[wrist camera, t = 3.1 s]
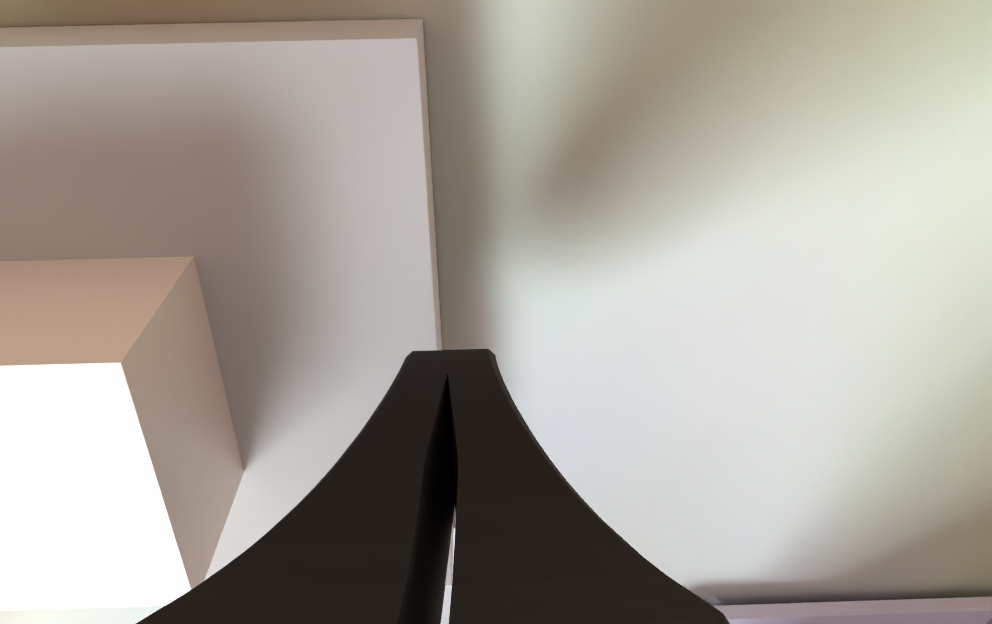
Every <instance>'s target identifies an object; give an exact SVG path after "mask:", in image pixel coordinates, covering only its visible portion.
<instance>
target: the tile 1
mask: <svg viewBox="0 0 992 624" xmlns="http://www.w3.org/2000/svg"><path fill="white" fill-rule="evenodd" d="M243 474H244V470H243V465H242V461H241V457H240V452H239V448H238V444H237V440H236V435H235V431H234V427H233V423H232V418H231V414H230V410H229V405H228V401H227V397H226V393H225V388H224V384H223V380H222V375H221V371H220V367H219V363H218V358H217V354H216V350H215V346H214V341H213V337H212V333H211V328H210V324H209V320H208V316H207V311H206V307H205V303H204V299H203V294H202V290H201V286H200V281H199V277H198V273H197V269H196V264H195V260H194V256H192V257H153V258H114V259H75V260H36V261H0V611H9V610H40V609H70V608H101V607H132V606H162V605H167V604H169V603H171V602H172V601H174V600H176V599H177V598H179V597H180V596H182V595H184V594H185V593H187V592H188V591H190V590H191V589H193V588H194V587H196V586H197V585H199V584H200V583H202V582H203V581H204V580H205V577H206V575H207V572H208V569H209V566H210V564H211V561H212V558H213V556H214V553H215V550H216V547H217V545H218V542H219V539H220V536H221V534H222V531H223V528H224V526H225V523H226V520H227V517H228V515H229V512H230V509H231V506H232V504H233V501H234V498H235V496H236V493H237V490H238V487H239V485H240V482H241V479H242V477H243Z"/></svg>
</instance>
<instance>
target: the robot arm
mask: <svg viewBox="0 0 992 624" xmlns="http://www.w3.org/2000/svg"><path fill="white" fill-rule="evenodd" d="M454 507H455V510H456V531H455V549H454V564H453V580H452V593H451V605H450V618H449V624H992V596H991V597H961V598H930V599H900V600H870V601H840V602H809V603H779V604H749V605H719V606H712V605H710V604H709V603H707V602H706V601H704V600H703V599H701V598H700V597H698V596H697V595H695V594H694V593H692V592H691V591H689V590H688V589H686V588H685V587H683V586H682V585H680V584H679V583H677V582H676V581H674V580H673V579H671V578H670V577H668V576H667V575H665V574H664V573H663V572H661V571H660V570H659V569H658V568H656V567H655V566H654V565H653V564H651V563H650V562H649V561H647V560H646V559H645V558H644V557H642V556H641V555H640V554H639V553H638V552H637V551H636V550H635V549H634V548H632V547H631V546H630V545H629V544H628V543H627V542H626V541H625V540H624V539H623V538H622V537H620V536H619V535H618V534H617V533H616V532H615V531H614V530H613V529H612V528H611V527H609V526H608V525H607V524H606V523H605V522H604V521H603V520H602V519H601V518H600V517H599V516H598V515H597V514H596V513H595V512H594V511H593V510H592V509H591V508H590V507H589V505H588V504H587V503H586V502H585V501H584V500H583V499H582V498H581V497H580V496H579V495H578V493H577V492H576V491H575V490H574V489H573V488H572V486H571V485H570V484H569V483H568V482H567V481H566V479H565V478H564V477H563V476H562V474H561V473H560V472H559V471H558V469H557V468H556V467H555V465H554V464H553V463H552V461H551V460H550V459H549V457H548V456H547V454H546V453H545V452H544V450H543V449H542V447H541V446H540V444H539V443H538V442H537V440H536V438H535V437H534V435H533V434H532V432H531V431H530V429H529V428H528V426H527V424H526V422H525V421H524V419H523V417H522V416H521V414H520V412H519V411H518V409H517V407H516V405H515V403H514V402H513V400H512V398H511V396H510V394H509V392H508V390H507V387H506V385H505V383H504V381H503V379H502V376H501V374H500V371H499V368H498V365H497V362H496V357H495V355H494V354H493V353H492V352H491V351H490V350H489V349H469V350H431V351H412V352H411V353H410V354H409V355H408V356H406V358H405V360H404V362H403V364H402V366H401V368H400V370H399V372H398V374H397V376H396V378H395V379H394V381H393V383H392V385H391V386H390V388H389V389H388V391H387V393H386V394H385V396H384V398H383V399H382V401H381V402H380V404H379V405H378V407H377V408H376V410H375V411H374V413H373V414H372V416H371V417H370V419H369V420H368V422H367V423H366V424H365V426H364V427H363V429H362V430H361V431H360V433H359V434H358V435H357V437H356V438H355V439H354V441H353V442H352V443H351V444H350V446H349V447H348V448H347V449H346V451H345V452H344V453H343V455H342V456H341V457H340V458H339V460H338V461H337V462H336V463H335V465H334V466H333V467H332V468H331V469H330V470H329V471H328V473H327V474H326V475H325V476H324V477H323V478H322V479H321V480H320V482H319V483H318V484H317V485H316V486H315V487H314V488H313V489H312V490H311V491H310V492H309V493H308V494H307V495H306V496H305V497H304V498H303V499H302V500H301V501H300V502H299V503H298V504H297V505H296V506H295V507H294V508H293V509H292V510H291V511H290V512H289V513H288V514H287V515H286V516H285V517H284V518H282V519H281V520H280V521H279V522H278V523H277V524H276V525H275V526H274V527H273V528H272V529H271V530H269V531H268V532H267V533H266V534H265V535H264V536H263V537H261V538H260V539H259V540H258V541H257V542H255V543H254V544H253V545H252V546H251V547H249V548H248V549H247V550H246V551H244V552H243V553H242V554H240V555H239V556H238V557H236V558H235V559H234V560H232V561H231V562H230V563H228V564H227V565H226V566H224V567H223V568H222V569H220V570H219V571H217V572H216V573H215V574H213V575H212V576H210V577H209V578H208V579H206V580H205V581H203V582H202V583H200V584H199V585H197V586H196V587H194V588H193V589H191V590H190V591H188V592H187V593H185V594H184V595H182V596H180V597H179V598H177V599H176V600H174V601H172V602H171V603H169V604H167V605H166V606H164V607H163V608H161V609H159V610H158V611H156V612H154V613H153V614H151V615H150V616H148V617H146V618H145V619H143V620H141V621H140V622H138V623H136V624H440V623H441V615H442V607H443V599H444V590H445V582H446V574H447V566H448V558H449V549H450V541H451V533H452V524H453V516H454Z"/></svg>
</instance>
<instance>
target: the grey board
mask: <svg viewBox="0 0 992 624" xmlns="http://www.w3.org/2000/svg"><path fill="white" fill-rule="evenodd" d="M192 256H194V260H195V264H196V269H197V273H198V277H199V281H200V286H201V290H202V294H203V299H204V303H205V307H206V311H207V316H208V320H209V324H210V328H211V333H212V337H213V341H214V346H215V350H216V354H217V358H218V363H219V367H220V371H221V375H222V380H223V384H224V388H225V393H226V397H227V401H228V405H229V410H230V414H231V418H232V423H233V427H234V431H235V435H236V440H237V444H238V448H239V452H240V457H241V461H242V465H243V470H244V474H243V477H242V479H241V482H240V485H239V487H238V490H237V493H236V496H235V498H234V501H233V504H232V506H231V509H230V512H229V515H228V517H227V520H226V523H225V526H224V528H223V531H222V534H221V536H220V539H219V542H218V545H217V547H216V550H215V553H214V556H213V558H212V561H211V564H210V566H209V569H208V572H207V575H206V577H205V580H206V579H208V578H209V577H210V576H212V575H213V574H215V573H216V572H217V571H219V570H220V569H222V568H223V567H224V566H226V565H227V564H228V563H230V562H231V561H232V560H234V559H235V558H236V557H238V556H239V555H240V554H242V553H243V552H244V551H246V550H247V549H248V548H249V547H251V546H252V545H253V544H254V543H255V542H257V541H258V540H259V539H260V538H261V537H263V536H264V535H265V534H266V533H267V532H268V531H269V530H271V529H272V528H273V527H274V526H275V525H276V524H277V523H278V522H279V521H280V520H281V519H282V518H284V517H285V516H286V515H287V514H288V513H289V512H290V511H291V510H292V509H293V508H294V507H295V506H296V505H297V504H298V503H299V502H300V501H301V500H302V499H303V498H304V497H305V496H306V495H307V494H308V493H309V492H310V491H311V490H312V489H313V488H314V487H315V486H316V485H317V484H318V483H319V482H320V480H321V479H322V478H323V477H324V476H325V475H326V474H327V473H328V471H329V470H330V469H331V468H332V467H333V466H334V465H335V463H336V462H337V461H338V460H339V458H340V457H341V456H342V455H343V453H344V452H345V451H346V449H347V448H348V447H349V446H350V444H351V443H352V442H353V441H354V439H355V438H356V437H357V435H358V434H359V433H360V431H361V430H362V429H363V427H364V426H365V424H366V423H367V422H368V420H369V419H370V417H371V416H372V414H373V413H374V411H375V410H376V408H377V407H378V405H379V404H380V402H381V401H382V399H383V398H384V396H385V394H386V393H387V391H388V389H389V388H390V386H391V385H392V383H393V381H394V379H395V378H396V376H397V374H398V372H399V370H400V368H401V366H402V364H403V362H404V360H405V358H406V356H408V355H409V354H410V353H411V352H412V351H431V350H442V334H441V317H440V300H439V284H438V267H437V250H436V233H435V216H434V199H433V183H432V166H431V149H430V132H429V115H428V98H427V82H426V65H425V48H424V31H423V19H377V20H329V21H282V22H234V23H187V24H139V25H92V26H44V27H0V261H36V260H75V259H114V258H153V257H192ZM452 558H453V524H452V533H451V541H450V549H449V558H448V566H447V574H446V582H445V585H452ZM205 580H204V581H205Z"/></svg>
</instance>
